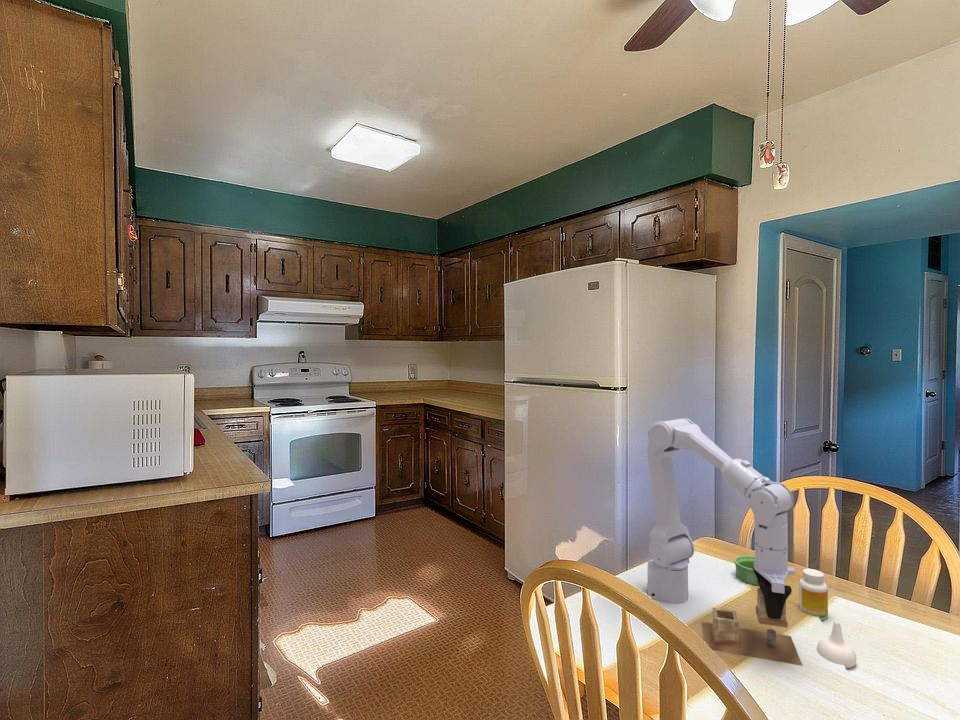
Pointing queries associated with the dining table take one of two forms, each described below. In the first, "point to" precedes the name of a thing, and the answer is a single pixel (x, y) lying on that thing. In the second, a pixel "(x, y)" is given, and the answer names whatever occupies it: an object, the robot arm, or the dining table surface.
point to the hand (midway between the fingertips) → (771, 611)
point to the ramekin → (746, 569)
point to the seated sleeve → (725, 627)
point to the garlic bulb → (837, 648)
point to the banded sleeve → (763, 615)
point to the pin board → (757, 645)
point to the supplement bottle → (813, 594)
